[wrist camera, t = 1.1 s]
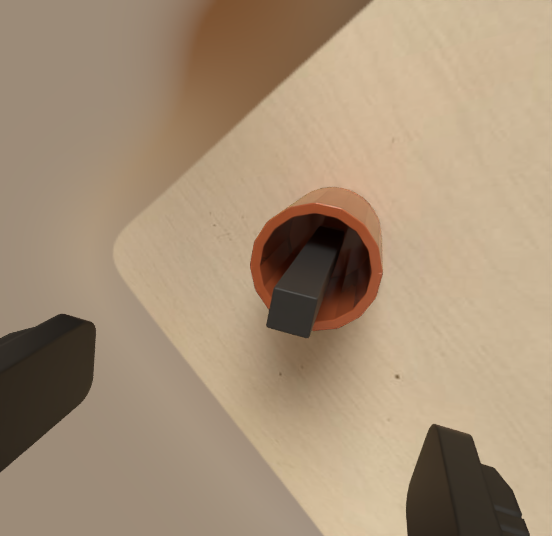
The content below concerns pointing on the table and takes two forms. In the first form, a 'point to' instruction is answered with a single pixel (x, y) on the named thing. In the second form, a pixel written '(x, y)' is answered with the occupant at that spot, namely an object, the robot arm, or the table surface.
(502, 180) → the table surface
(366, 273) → the pen cup
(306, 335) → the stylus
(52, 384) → the robot arm
